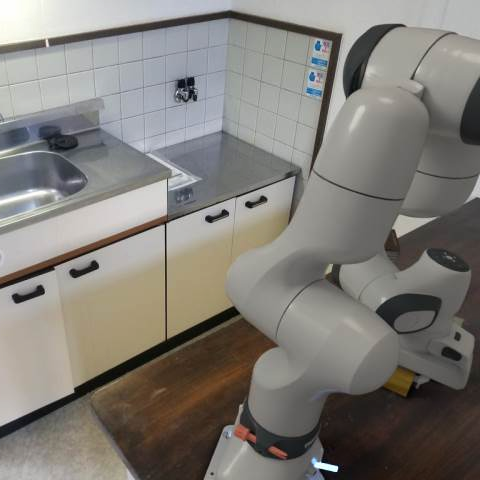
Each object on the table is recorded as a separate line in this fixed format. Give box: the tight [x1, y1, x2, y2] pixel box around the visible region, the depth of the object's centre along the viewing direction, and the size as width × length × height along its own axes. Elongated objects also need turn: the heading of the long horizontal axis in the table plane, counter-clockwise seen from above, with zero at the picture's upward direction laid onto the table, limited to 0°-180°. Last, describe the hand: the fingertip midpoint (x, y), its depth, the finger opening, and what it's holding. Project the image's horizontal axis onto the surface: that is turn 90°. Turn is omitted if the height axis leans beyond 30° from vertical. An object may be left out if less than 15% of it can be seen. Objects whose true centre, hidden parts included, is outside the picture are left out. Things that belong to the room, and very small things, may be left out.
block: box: [382, 365, 417, 398], centre depth 100 cm, size 4×4×4 cm
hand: (399, 378), depth 100 cm, fingers closed on block, 4 cm apart
